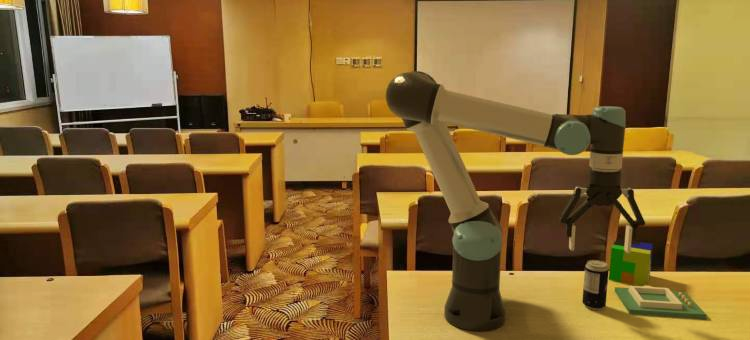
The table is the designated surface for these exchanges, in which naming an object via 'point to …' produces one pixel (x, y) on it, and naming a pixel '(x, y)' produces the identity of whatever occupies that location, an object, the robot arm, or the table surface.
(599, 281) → the beverage can
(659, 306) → the header board
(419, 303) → the table surface
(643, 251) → the puzzle toy
